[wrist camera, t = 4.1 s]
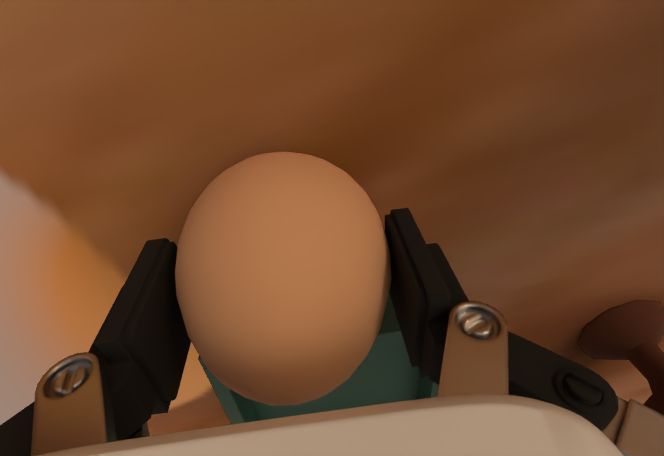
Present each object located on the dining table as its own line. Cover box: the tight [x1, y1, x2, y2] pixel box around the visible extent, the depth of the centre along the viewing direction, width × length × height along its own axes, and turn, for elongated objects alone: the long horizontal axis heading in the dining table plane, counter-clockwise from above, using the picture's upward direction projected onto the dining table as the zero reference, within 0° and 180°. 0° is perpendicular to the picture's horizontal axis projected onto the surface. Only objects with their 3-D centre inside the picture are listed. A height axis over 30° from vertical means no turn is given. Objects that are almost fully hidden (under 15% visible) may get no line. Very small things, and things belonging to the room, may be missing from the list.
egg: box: [175, 152, 392, 406], centre depth 12 cm, size 7×7×9 cm
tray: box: [198, 294, 438, 424], centre depth 23 cm, size 15×13×3 cm
